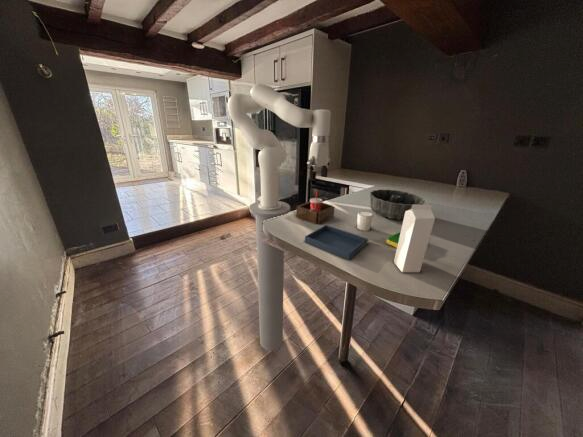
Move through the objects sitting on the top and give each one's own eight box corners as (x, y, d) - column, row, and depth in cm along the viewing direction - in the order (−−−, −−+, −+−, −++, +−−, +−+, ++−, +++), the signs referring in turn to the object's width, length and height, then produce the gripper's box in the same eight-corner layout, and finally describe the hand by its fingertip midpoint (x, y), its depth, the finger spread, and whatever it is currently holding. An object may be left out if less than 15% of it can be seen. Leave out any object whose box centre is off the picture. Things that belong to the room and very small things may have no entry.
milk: (419, 272, 74) (439, 208, 66) (401, 272, 74) (418, 208, 66) (410, 261, 80) (426, 201, 71) (393, 261, 80) (407, 201, 71)
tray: (304, 242, 91) (305, 236, 90) (325, 230, 102) (325, 224, 101) (348, 259, 80) (349, 253, 79) (366, 244, 91) (367, 238, 90)
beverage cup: (321, 215, 119) (324, 188, 113) (320, 219, 113) (322, 192, 108) (310, 213, 120) (311, 187, 115) (307, 218, 115) (309, 190, 109)
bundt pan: (420, 211, 128) (424, 193, 124) (420, 228, 107) (425, 207, 103) (371, 203, 139) (374, 186, 136) (362, 217, 118) (365, 198, 114)
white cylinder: (366, 224, 109) (368, 210, 106) (374, 230, 103) (376, 216, 100) (353, 225, 108) (355, 211, 105) (360, 231, 102) (362, 216, 99)
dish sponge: (420, 241, 95) (421, 235, 94) (403, 251, 87) (404, 245, 86) (403, 234, 100) (404, 229, 99) (386, 243, 92) (387, 238, 91)
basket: (295, 216, 116) (295, 206, 114) (311, 209, 126) (312, 200, 124) (318, 224, 107) (319, 213, 105) (334, 216, 117) (335, 206, 115)
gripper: (323, 139, 111) (321, 174, 117) (301, 140, 99) (300, 180, 105) (337, 139, 106) (334, 176, 113) (316, 141, 94) (314, 182, 101)
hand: (318, 178), depth 109 cm, fingers open, 9 cm apart
